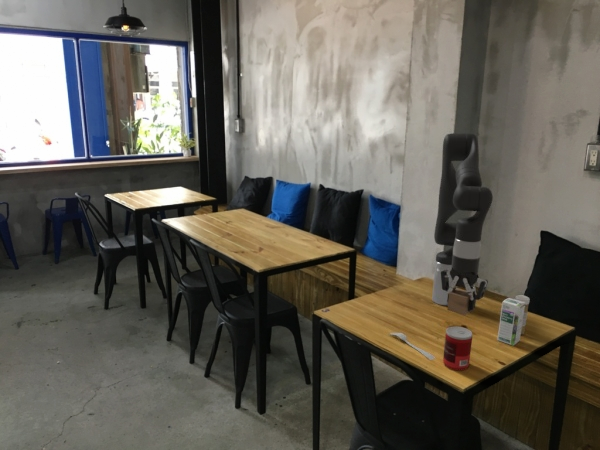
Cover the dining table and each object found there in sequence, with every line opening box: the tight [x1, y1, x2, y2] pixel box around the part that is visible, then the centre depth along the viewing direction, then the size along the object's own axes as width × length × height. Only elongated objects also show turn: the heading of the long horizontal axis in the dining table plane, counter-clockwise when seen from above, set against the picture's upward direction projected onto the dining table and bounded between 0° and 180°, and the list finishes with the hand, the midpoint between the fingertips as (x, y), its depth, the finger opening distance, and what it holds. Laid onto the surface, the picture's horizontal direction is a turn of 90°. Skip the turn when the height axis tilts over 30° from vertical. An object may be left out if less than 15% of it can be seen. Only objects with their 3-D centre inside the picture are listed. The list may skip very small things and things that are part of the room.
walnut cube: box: [446, 287, 474, 316], centre depth 142 cm, size 6×6×6 cm
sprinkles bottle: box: [514, 294, 531, 335], centre depth 168 cm, size 5×5×13 cm
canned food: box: [442, 326, 473, 371], centre depth 146 cm, size 8×8×11 cm
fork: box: [388, 332, 436, 361], centre depth 158 cm, size 3×21×3 cm, turn 32°
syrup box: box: [497, 297, 525, 347], centre depth 161 cm, size 6×6×14 cm
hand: (460, 307), depth 143 cm, fingers closed on walnut cube, 5 cm apart
